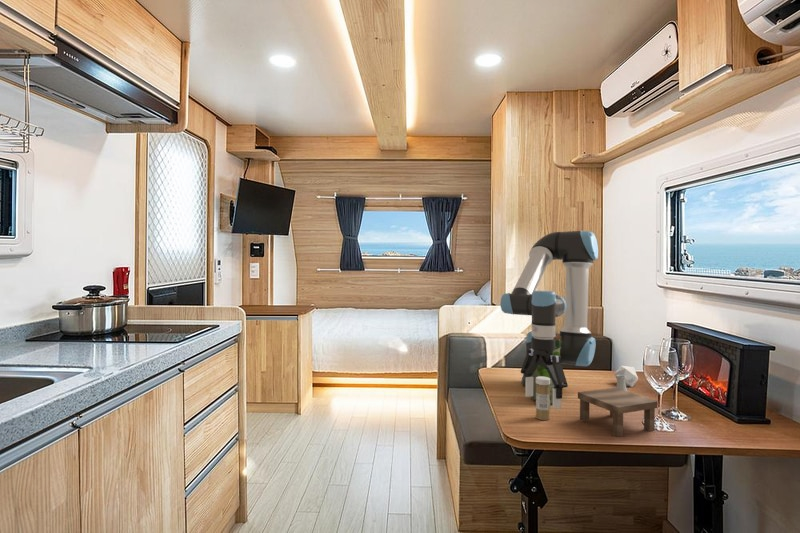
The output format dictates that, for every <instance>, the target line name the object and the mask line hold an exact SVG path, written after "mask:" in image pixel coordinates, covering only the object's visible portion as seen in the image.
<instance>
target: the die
mask: <svg viewBox="0 0 800 533" xmlns="http://www.w3.org/2000/svg"><path fill="white" fill-rule="evenodd" d="M617 375H624V376H626V379H625V384H626V387H629V388H632V387H634V386H635V385H636V382H638V380H639V377H638V375H637V372H636V369H635V367H634V366H628V365H627V366H626V365H620V366H619V367H618V369H616V371H615V372H614V376H615V378H616V379H617Z"/></svg>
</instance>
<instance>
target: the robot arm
mask: <svg viewBox="0 0 800 533" xmlns="http://www.w3.org/2000/svg"><path fill="white" fill-rule="evenodd" d="M528 254H529V258H528V259H527V261H526V264H525V265H524V267H523V270H522V272H521V273H520V276H519V278H518V280H517V282H516V283H515V286H514V287H513V289H512V292H511V293H510V292H508V293H504V294H502V295H501V298H500V304H499V305H500V309H501V311H502V313H504V314H509V315H517V316H518V315H521V316H531V331H528V332H527V333H526V338H525V358H524V361H523V363H522V366H521V369H520V374H522V377H521V385H522V386H523V387H524V389H525V390H524V392H525V394H524V396H525V397H526V398H528V397H531V396H533V377H531V376H533V373H534V372H535V370H536V369H537V367H538V366H539V365H541V366H542V367H544V368H545V369H546V370H547V371H548V373H549V376H550V378H551V380H552V382H553V384H554V387H553V405H552V409H553V410H558V409H562V398H563V389H564V388H568V387H569V385H568V382H567V379H566V376H565V371H564V369H563V365H569V366H575V367H589V366H590V365H591V363H592V361H593V360H594V357H595V352H596V346H597V345H596V344H597V343H596V338H595V337H593V336H592V332H591V331H590V329H588V313H589V312H588V310H589V281H590V280H589V279H590V278H589V276H590V275H589V274H590V273H589V272H590V268H591V267H593V265H594V261H596V260H598V258H599V246H598V240H597V236H596V235H595V233H594V232H593V231H590V230H572V231H571V230H570V231H569V230H568V231H553V232H550V233H548V234H545V235H544V236H542V237H541V238H539V240H537V241H536V242H535V243H534V244H533V246H532V247H531V248H530V250H529V252H528ZM554 260H560V261H561V260H562V262H561V263H562V265H563V266H564V267H565V291H564V293H565V295H564V297H565V298H564V297H562V296H560V295H557V294H556V292H555V291H554V290H537V288H538V286H539V284H540V282H541V280H542V278H543V275H544V273H545V271H546V269H547V267H548V265H550V264H551V263H553V261H554ZM563 314H564V321H563V322H564V325H563V327H562V328H561V329H560V330H559V334H558V333H556V318H558V317H560V316H562V315H563ZM555 335H559V336H562V337H561V342H562V343H561V348H560V356H553V351H554V350H555V339H554V337H555ZM550 364H551V365H550ZM557 383H558V384H557Z"/></svg>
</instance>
